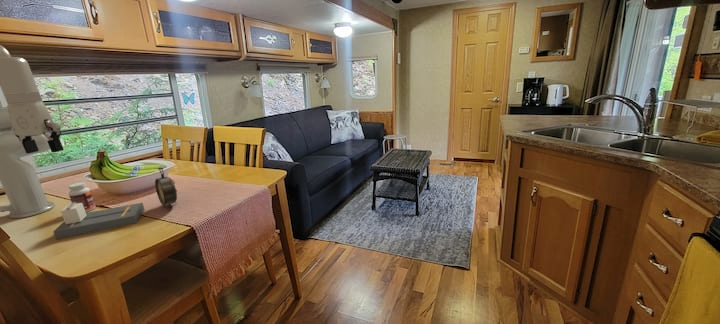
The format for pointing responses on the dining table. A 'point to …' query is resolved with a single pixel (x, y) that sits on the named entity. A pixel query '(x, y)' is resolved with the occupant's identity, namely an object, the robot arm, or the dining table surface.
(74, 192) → the pill bottle
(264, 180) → the dining table surface
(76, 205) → the fader knob
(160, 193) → the alarm clock
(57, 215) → the dining table surface
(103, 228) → the fader console
